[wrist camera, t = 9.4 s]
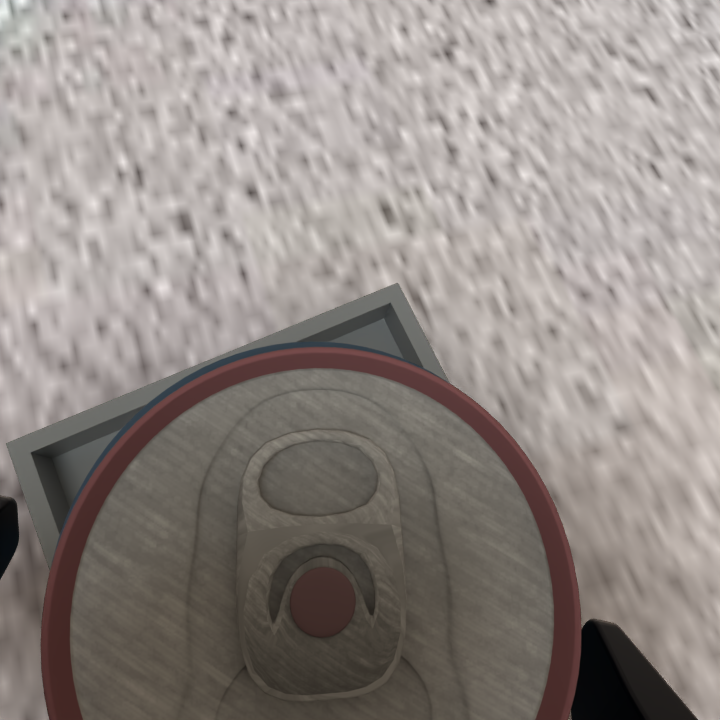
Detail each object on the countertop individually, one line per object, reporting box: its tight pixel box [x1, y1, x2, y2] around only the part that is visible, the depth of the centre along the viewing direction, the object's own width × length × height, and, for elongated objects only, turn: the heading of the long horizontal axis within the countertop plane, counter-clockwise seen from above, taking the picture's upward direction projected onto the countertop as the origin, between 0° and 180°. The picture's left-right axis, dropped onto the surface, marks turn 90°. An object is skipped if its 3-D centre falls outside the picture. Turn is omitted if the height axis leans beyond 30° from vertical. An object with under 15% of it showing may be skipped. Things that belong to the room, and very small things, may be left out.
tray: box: [6, 283, 449, 570], centre depth 17 cm, size 12×12×2 cm
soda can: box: [41, 341, 581, 720], centre depth 12 cm, size 7×7×12 cm
